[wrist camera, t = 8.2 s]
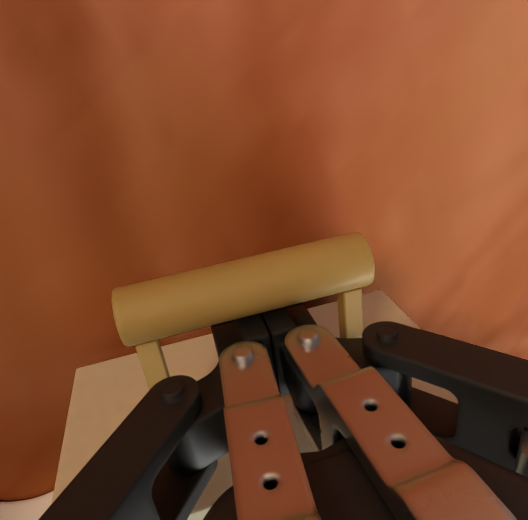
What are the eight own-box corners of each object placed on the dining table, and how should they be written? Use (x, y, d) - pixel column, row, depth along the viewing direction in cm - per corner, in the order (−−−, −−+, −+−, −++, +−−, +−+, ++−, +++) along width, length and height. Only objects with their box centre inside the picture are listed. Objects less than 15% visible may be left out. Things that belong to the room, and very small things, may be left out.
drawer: (22, 239, 16) (-67, 393, 9) (379, 165, 18) (530, 240, 11) (171, 598, 27) (184, 793, 20) (384, 523, 29) (462, 675, 22)
